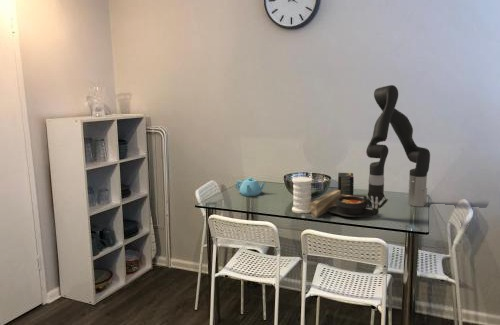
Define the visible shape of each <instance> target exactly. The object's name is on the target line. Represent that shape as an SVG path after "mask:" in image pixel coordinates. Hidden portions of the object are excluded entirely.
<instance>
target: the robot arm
mask: <svg viewBox="0 0 500 325" xmlns="http://www.w3.org/2000/svg"><path fill="white" fill-rule="evenodd" d="M373 92H374V93H373V97H374V100H375V102H376V104H377V105H378V107H379V108H380V109H381V113H380V115H379V117H378V118H377V119H376V121H375V124H374V127H373V132H372V133H373V134H372V136H371V139H370V141H369V143H368V145H367V147H366V152H365V153H366V155H367V157H368V158H371V159H379V161H374V162H371V163H370V164H369V175H368V192H367V194H366V195H364V196H363V197H364V199H365V201H366V202H367V204H368V205H367V206H368V207H370V208H372V209H371V210H372V214H373V216H378V215H379V210H380V209H381V208H383V207H384V205H385V204H386V203H388V201H389V199H388V198H387V197H385V194H384V191H385V190H384V189H385V188H384V187H385V163H386V161H387V158H388V155H389V147H388V146H387V145H386V144H379V143H382V142H386V141H387V139H388V134H389V128H390V125H391V127H392V129H393V132H394V133H395V134H396V136H397V137H398V140H399V142H400V144H401V145H402V148H403V150H404V152H405V155H406V157H407V159H408V160H409V161H410V162H412V163H415V167H414V168H412V169H410V170H409V179H408V195H407V196H408V197H407V204H408V205H409V206H411V207H412V206H413V207H421V208H422V207H425V206H426V205H427V198H428V188H427V181H428V180H427V179H428V172H429V169H430V163H431V162H430V161H431V151H430V150H429V149H428V148H426V147H421V146H417V144H416V143H415V141H414V139H413V132H414V127H413V126H412V123H411V121H410V119H409V118H408V117H407V116H406V115H405V114H404V113H403V112H401V111H400V110H398V109H396V106H397V102H398V99H399V90H398V88H397V87H396V85H393V84H391V85H386V86H380V87H378V88H376V89H375V90H374V91H373ZM381 201H382V203H381ZM380 203H381V204H380Z"/></svg>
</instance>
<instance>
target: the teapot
mask: <svg viewBox="0 0 500 325" xmlns="http://www.w3.org/2000/svg"><path fill="white" fill-rule="evenodd" d="M266 183H267V181H263V182H262V183H261V185H260V183H259V181H258V180H257V179H253V177H247V179H244V180H239V179H238V180H237V181H236V183H235V187H234V188H235V189H236V190H238V192H239V194H240V195H241V196H243V197H256V196H259V195H260V194H261V192H262V191H263V189H264V186H265V184H266ZM240 184H241V185H240ZM239 185H240V186H239Z"/></svg>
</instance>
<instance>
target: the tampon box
mask: <svg viewBox="0 0 500 325" xmlns="http://www.w3.org/2000/svg"><path fill="white" fill-rule="evenodd" d="M354 177H355V176H354V173H353V172H338V175H337V190H341V194H340V195H342V194H344V195H350V196H354V181H355V180H354Z"/></svg>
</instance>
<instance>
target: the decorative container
mask: <svg viewBox="0 0 500 325" xmlns="http://www.w3.org/2000/svg"><path fill="white" fill-rule="evenodd" d="M292 183H293V185H292V187H293V197H292V198H293V201H292V202H293V203H292V204H293V206H292V207H291V212H293V213H295V214H300V213H305V214H309V213H311V202H312V183H313V178H311V177H307V176H299V177H298V176H297V177H293V178H292Z"/></svg>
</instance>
